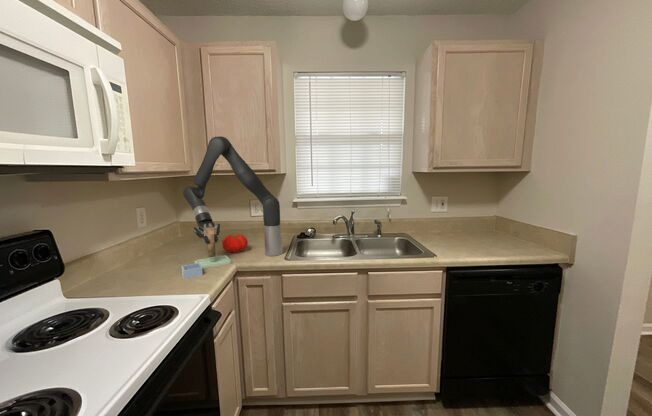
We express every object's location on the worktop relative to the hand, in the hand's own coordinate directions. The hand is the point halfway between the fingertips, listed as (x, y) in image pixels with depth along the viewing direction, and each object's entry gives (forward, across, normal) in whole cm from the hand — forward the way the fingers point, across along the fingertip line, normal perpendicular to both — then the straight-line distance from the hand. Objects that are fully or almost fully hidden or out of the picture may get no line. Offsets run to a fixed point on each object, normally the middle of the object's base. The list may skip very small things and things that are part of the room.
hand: (212, 242), depth 139 cm
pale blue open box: (+14, -13, +4) cm, 19 cm away
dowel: (+4, 0, +7) cm, 8 cm away
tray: (+7, 0, +10) cm, 13 cm away
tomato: (-3, +19, +21) cm, 28 cm away
